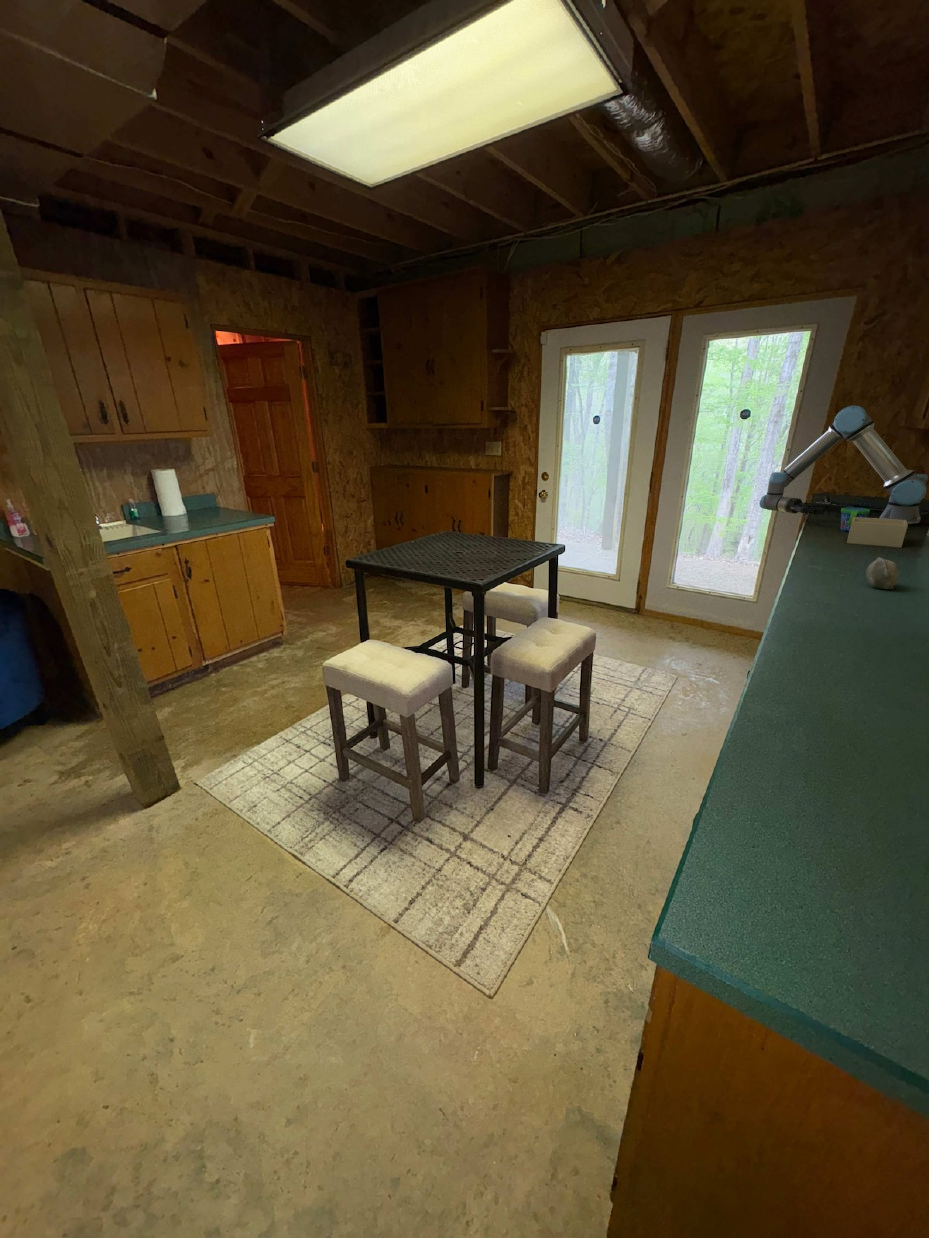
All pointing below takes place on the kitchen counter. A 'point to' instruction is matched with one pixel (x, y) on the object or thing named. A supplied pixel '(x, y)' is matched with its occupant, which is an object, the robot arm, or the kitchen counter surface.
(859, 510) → the snack cup
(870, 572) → the garlic bulb
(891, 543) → the tan rectangular box
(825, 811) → the kitchen counter surface
